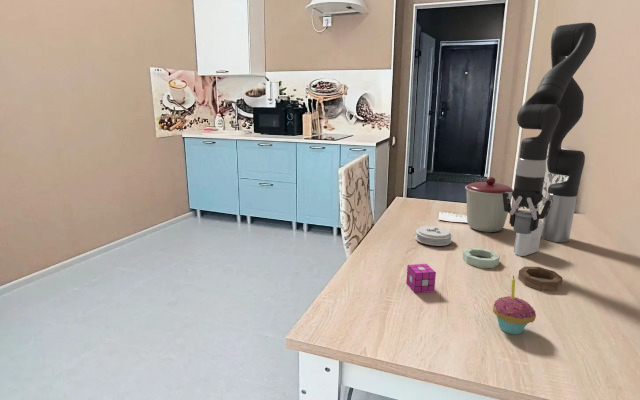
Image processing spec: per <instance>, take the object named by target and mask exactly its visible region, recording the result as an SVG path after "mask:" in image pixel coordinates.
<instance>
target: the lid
mask: <svg viewBox="0 0 640 400" xmlns="http://www.w3.org/2000/svg"><path fill="white" fill-rule="evenodd" d="M415 233H416V236H415V240H416V241H417V242H419V243H421V244H425V245H429V246H436V247H437V246H439V247H440V246H441V247H442V246H448V245H450V244H451V243H452V236H453V233H452V232H451V231H450V230H449V229H447V228H445V227H443V226H442V227H440V226H435V225H423V226H421V227H418V228H417V229H416V230H415Z"/></svg>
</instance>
